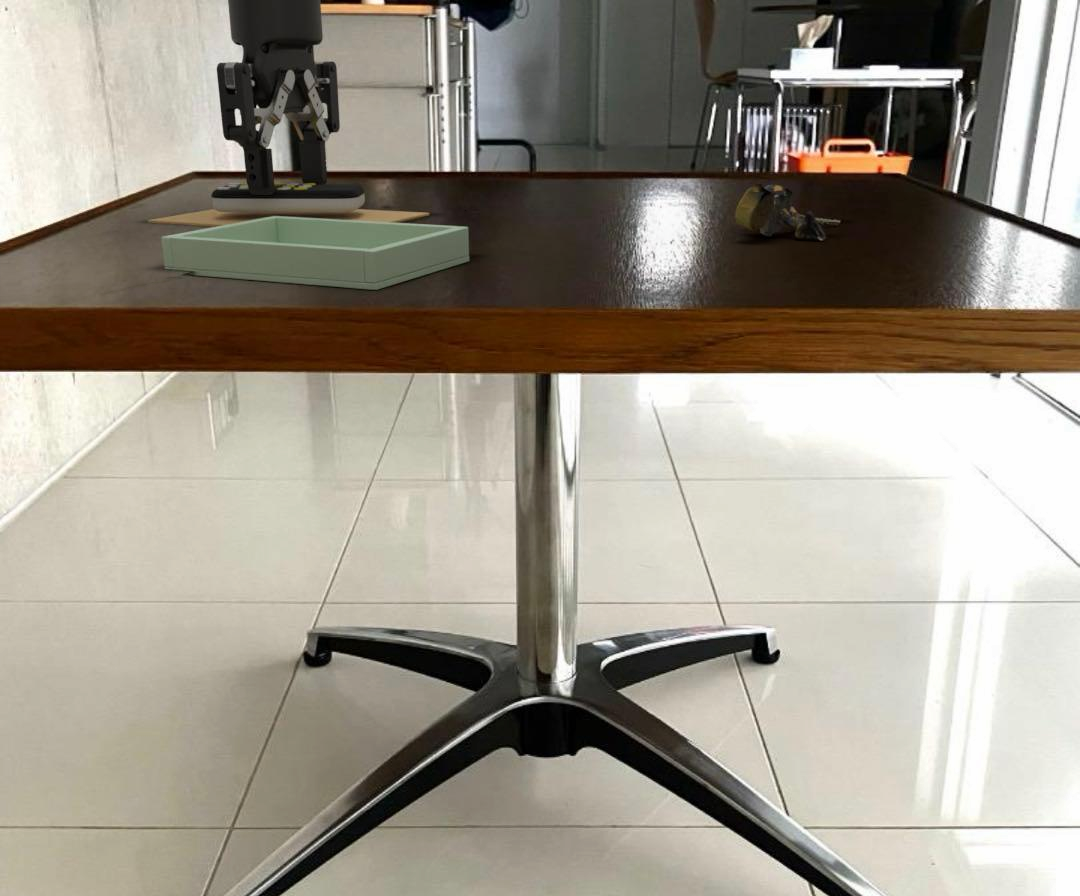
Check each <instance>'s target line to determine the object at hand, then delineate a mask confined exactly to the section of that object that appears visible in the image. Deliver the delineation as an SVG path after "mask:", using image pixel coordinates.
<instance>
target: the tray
mask: <svg viewBox="0 0 1080 896" xmlns="http://www.w3.org/2000/svg"><path fill="white" fill-rule="evenodd" d="M469 236H470V235H469V227H468V226H462V225H461V226H460V225H459V226H458V225H444V224H443V225H442V224H427V223H424V224H423V223H407V222H397V223H392V222H374V221H356V220H339V219H321V218H303V217H285V216H282V217H281V216H271V217H265V218H260V219H255V220H249V221H244V222H238V223H233V224H228V225H222V226H217V227H214V226H211V227H207V228H202V229H195V230H191V231H185V232H180V233H175V234H169V235H163V236H161V238H160V239H161V248H162V257H163V265H164V269H165V270H175V271H176V270H177V271H188V272H186V273H183V275H184V276H186V275H187V276H195V277H211V278H221V279H232V280H233V279H234V280H245V281H247V280H248V281H259V282H271V283H283V284H296V285H297V284H298V285H310V286H321V287H331V288H332V287H333V288H334V287H335V288H346V289H356V290H372V291H378V290H380V289H381V290H382V289H384V288H387V287H391V286H394V285H397V284H400V283H404V282H406V281H407V282H408V281H411V280H413V279H417V278H419V277H423V276H426V275H429V274H433V273H436V272H439V271H443V270H445V269H449V268H452V267H456V266H459V265H462V264H464V263H468V262H470V242H469V241H470V238H469Z"/></svg>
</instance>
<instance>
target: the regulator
mask: <svg viewBox="0 0 1080 896" xmlns="http://www.w3.org/2000/svg"><path fill="white" fill-rule="evenodd" d="M793 194H794V192H793V191H791V190H790V189H789V188H787V187H783V186H781V185H778V184H768V185H766V186H765V187H763V183H759V184H758V183H756V184H755V185H753V186H752V187H750V188H748V189H747V190H746V191H745V192H744V194H743V196H742V197H741V198H740V200H739V202H738V204H737V206H736V210H735V215H734V216H735V222H736V225H739V226H742V227H745V228H747V229H748V230H749V231H752V232H759V233H760V234H762V235H763V236H766V237H772V235H773V234H774V233H776V232H778V231H779V230H780V229H781V228H782V226H783V225H786V226H789V227H790V228H792V229H794V230H795V233H794V236H795V237H796V238H798V239H802V238H804V237H806V238H814V239H815V240H818V241H820V242H822V241H824V240H825V239H826V238H827V235H826V233H825V232H824V230H823V228H822V227H821V226H823V225H824V224H825V225H827V226H828V225H829V226H839V225H840V224H841V220H840V219H839V220H837V219H829V218H822V217H820V218H819V217H815V216H814V214H813V212H812V211H811V210H806V211H805V214H804V215H803V214H800V213H798V211H797V210H796V209H795V208H794V206H792V197H793Z"/></svg>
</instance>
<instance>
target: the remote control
mask: <svg viewBox="0 0 1080 896" xmlns="http://www.w3.org/2000/svg"><path fill="white" fill-rule="evenodd" d="M274 186H275V191H274V193H273V194H269V195H255V194H251V193H250V191H249V189H248V185H247V183H246V184H244V183H243V184H241V182H229V183H228V184H227V185H224V186H219V187H217V188H216V189H214V190H213V191H212V192H211V195H210V197H211V206H212V209H215V210H217V211H219V212H352V211H355V210H357V209H361V207H362V206H363V205H364V204H365V202H366V201H365V200H366V195H365V189H364V187H362V186H361V185H359V184H345V183H343V184H338V183H337V184H334V183H333V184H331V183H330V184H329V183H328V184H327V183H326V184H315V183H307V184H303V183H302V184H300V183H298V182H293V183H291V182H290V183H286V184H282V183H281V182H274Z"/></svg>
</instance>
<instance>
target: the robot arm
mask: <svg viewBox="0 0 1080 896" xmlns="http://www.w3.org/2000/svg"><path fill="white" fill-rule="evenodd" d="M227 5H228V16H229V27H230V38H231V41H232V42H233V43H234V45H237V46H241V47H242V59H241V62H239V61H227V62H219V63H218V64H217V66H216V75H217V76H216V77H217V78H216V79H217V88H218V97H219V106H220V115H221V126H222V134H223V137H224V139H225V141H232V142H235V143H237V144H238V145H239V147H242V150H243V157H244V169H245V181H246V184H247V185H248V189H249V191H250V193H251V194H255V195H269V194H273V193H274V191H275V186H274V183H275V176H274V163H273V151H272V148H268V147H269V146H270V145H271V141H272V137H273V133H274V130H275V127H276V126H277V125H279V124H280V123H281V122H282V119H283V116H284V117H285V118H286V119H287V120H288V121H290V122H291V123H292V124H293V126H294V128H295V130H296V132H297V135H298V137H299V139H300V140H301V141H299V142H298V145H299V158H300V171H301V182H302V184H307V183H315V184H327V181H328V177H327V175H328V169H327V168H328V166H327V152H326V151H327V150H326V142H327V141H328V140H329V138H330V135H331V134H333V133H338V132H339V131H340V127H341V124H340V121H341V120H340V107H339V106H340V104H339V103H340V102H339V89H338V88H339V87H338V68H337V64H336V63H335V62H334V61H333V60H332V61H315V59H314V54H313V49H312V48H313V46H319V45H320V44H321V43H322V42H323V40H324V39H323V38H324V37H323V21H322V19H323V18H322V4H321V0H227ZM323 104H325V105H326V114H327V115H326V116H327V117H324V116H323V114H324V112H325V107H324V106H323ZM236 110H238V111H239V115H240V120H241V122H240V124H237V119H236ZM308 122H309V124H308ZM257 125H259V128H258V130H257Z"/></svg>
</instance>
